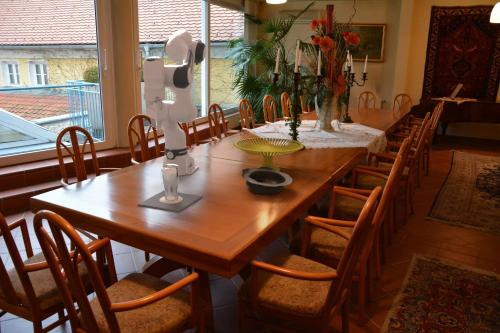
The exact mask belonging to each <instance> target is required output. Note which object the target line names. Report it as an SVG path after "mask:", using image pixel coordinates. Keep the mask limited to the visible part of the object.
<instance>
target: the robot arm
mask: <svg viewBox="0 0 500 333" xmlns="http://www.w3.org/2000/svg"><path fill="white" fill-rule="evenodd" d="M163 50H164V54H165V55H166V56H167V58H168V59H169V60H170V61H171V62H172V63H175V64H164V60H163V58H162V57H161V56H148V57H146V58H144V59H143V70H142V71H143V72H142V73H143V74H142V78H143V83H144V88H143V100H144V101H145V102H144V103H145V109H146V110H145V111H146V115H147V116H148V117H149V119H150V123H151V124H150V125H151V128H156V130H157V132H160V131H163V134H164V144H165V146H164V150H163V151H164V156H163V159H162V160H163V162H162V167H163V166H164V165H168V164H175V165H178V171H179V177H180V176H187V175H189V176H190V175H193V174H195V172H197V170H199V168H200V167H199V165H196V163H195V157H193V156H192V155H190V153H189V151H190V150H191V147H190V146H187V140H186V139H187V138H186V137H187V136H186V135H187V134H186V132H185V131H184V130H183V129H181V128H180V126H179V124H178V123H182V124H187V123H192V122H193V123H194V121H195V120H196V119H197V116H198V108H197V107H196V105H195V103H194V102H193V101H192V97H191V90H192V85H193V80H194V76H195V66H198V65H199V64H201V63H202V62H204V60H205V58H206V56H207V51H208V50H207V45H206V44H205V42H202V41H198V40H195V39H193V37H192V35H191V34H190V32H188V31H187V30H186V29H180V30H179V29H178V30H177V31H176V32H174V33H173V34H172V35H171V36H168V37H167V38H166V39H165V42H164V45H163ZM166 88H169V90H170V92H171V93H172V94H173V95H174V96H175V99H174V100H167V97H166V96H167V95H166V94H167V93H166ZM160 170H161V172H162V170H163V168H161V169H160Z"/></svg>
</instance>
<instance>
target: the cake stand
mask: <svg viewBox="0 0 500 333" xmlns="http://www.w3.org/2000/svg"><path fill="white" fill-rule="evenodd" d="M233 146H234V147H235V148H237V149H239V150H241V151H243V152H245V153H246V154H250V155H253V156H254V155H255V156H262V157H263V164H261V165H260V166H258V167H256V168H259V167H262V166H263V167H270V168H272V169H274V170H275V171H279V172H281V169H280V168H279V167H277V166H275V165H273V161H274V159H273V158H274V157H280V156H287V155H291V154H293V153H295V152H297V151H300V150H303V148H304V147H305V144H304V143H302V142H300V141H297V140H293V139H288V138H277V137H251V138H244V139H239V140H236V141H234V142H233Z"/></svg>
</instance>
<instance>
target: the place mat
mask: <svg viewBox="0 0 500 333" xmlns="http://www.w3.org/2000/svg"><path fill="white" fill-rule="evenodd" d="M177 193H178V198H179V199H178V200H177V201H171V202H170V201H165V200H164V198H165V189H164V190H162V191H160V192H158V193H156V194H154V195H153V196H151V197H150V196H149V198H146V199H145V200H143V201H140V202H138V203H137V206H138V207H142V208H143V207H144V208H150V209H155V210H162V211H168V212H174V213H178V214H180V213H181V212H183V211H184V210H186V209H187V208H189V207H190V206H192V205H193V204H196V202H198V201H200V200H201V199H202V198H203V195H197V194H192V193H191V194H190V193H186V192H184V193H183V192H179V191H177Z"/></svg>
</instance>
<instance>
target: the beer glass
mask: <svg viewBox="0 0 500 333" xmlns="http://www.w3.org/2000/svg"><path fill="white" fill-rule="evenodd" d="M162 169H163V170H162V171H161V174H162V183H163V188H164V190H165V198H164V200H165V201H170V202H171V201H177V200H178V199H179V198H178V193H177V192H178V188H179V187H178V186H179V181H180V180H179V179H180V176H179V171H178V165H175V164H168V165H164V166H163V165H162Z"/></svg>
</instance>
